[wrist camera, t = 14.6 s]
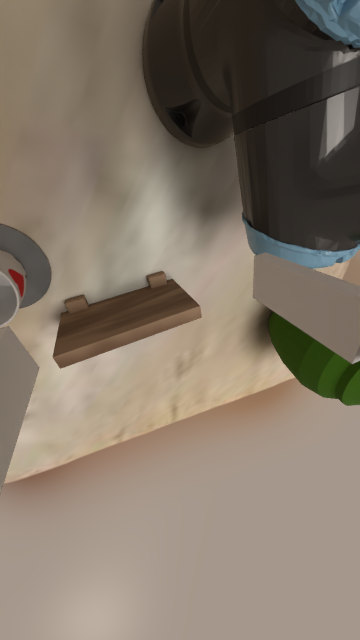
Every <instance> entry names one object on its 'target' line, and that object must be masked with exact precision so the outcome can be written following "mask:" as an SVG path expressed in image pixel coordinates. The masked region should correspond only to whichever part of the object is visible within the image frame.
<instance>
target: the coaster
mask: <svg viewBox="0 0 360 640" xmlns="http://www.w3.org/2000/svg"><path fill="white" fill-rule="evenodd" d="M0 250H1V251H4V252H7V253H10V254H12V255H13V256H15V257H16V258H17V259H18V260H19V261H20V262H21V263H22V265H23V267H24V270H25V272H26V276H27V282H26V291H25V295H24V298H23V300H22V302H21V305H20V307H19V308H23V307H27V306H29V305H32V304H34V303H35V302H37V301H38V300H40V299H41V298H42V297H43V296H44V294H45V293H46V292H47V290H48V288H49V285H50V282H51V268H50V264H49V261H48V259H47V257H46V255H45V254H44V252H43V251H42V249H41V248H40V247H39V246H38V245H37V244H36V243H35V242H34V241H33V240H32V239H31V238H29V237H28V236H26V235H25V234H24V233H22V232H20V231H18V230H16V229H14V228H11V227H9V226H6V225H3V224H0Z"/></svg>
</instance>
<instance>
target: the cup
mask: <svg viewBox="0 0 360 640" xmlns="http://www.w3.org/2000/svg"><path fill="white" fill-rule="evenodd" d="M26 282H27V276H26V272H25V270H24V267H23V265H22V263H21V262H20V261H19V260H18V259H17V258H16V257H15V256H13V255H12V254H10V253H7V252H4V251H1V250H0V327H2V326H4V325H6V324H7V323H9V322H10V321H11V320H12V319H13V318H14V317H15V315H16V314H17V311H18V309H19V307H20V305H21V302H22V300H23V298H24V295H25V291H26Z"/></svg>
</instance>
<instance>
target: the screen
mask: <svg viewBox="0 0 360 640" xmlns="http://www.w3.org/2000/svg"><path fill="white" fill-rule="evenodd" d="M147 278H148V282H149V286H148V287H145V288H142V289H139V290H135V291H132V292H129V293H126V294H122V295H119V296H116V297H113V298H109V299H106V300H103V301H100V302H97V303H93V304H90V305H88V302H87V300H86V298H85V296H84V295H81V296H78V297H74V298H71V299H68V300H65V306H66V308H67V310H68V311H67V312H64V313H61V318H60V323H59V328H58V333H57V338H56V343H55V348H54V353H53V359H54V360H55V361H56V363H57V364H58V366H59V367H60V369H61V368H63V367H66V366H69V365H72V364H75V363H77V362H80V361H83V360H86V359H88V358H91V357H94V356H97V355H99V354H102V353H105V352H108V351H110V350H113V349H116V348H119V347H121V346H124V345H127V344H130V343H132V342H135V341H138V340H141V339H144V338H146V337H149V336H152V335H155V334H157V333H160V332H163V331H166V330H168V329H171V328H174V327H177V326H179V325H182V324H185V323H188V322H190V321H193V320H196V319H199V318H202V317H201V309H200V305H199V304H198V303H197V302H196V301H195V300H194V299H193V298H192V297H190V296H189V295H188V294H187V293H186V292H185V291H184V290H183V289H182V288H181V287H180V286H179V285H178V284H177V283H176V282H175V281H174V280H173V279H171V280H168V281H167V280H166V275H165V273H164V272H163V271H162V272H158V273H155V274H151V275H148V276H147Z"/></svg>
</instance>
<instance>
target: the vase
mask: <svg viewBox="0 0 360 640" xmlns="http://www.w3.org/2000/svg"><path fill="white" fill-rule="evenodd" d="M269 333H270V337H271V340H272V344H273V345H274V347H275V349H276V351H277V353H278V354H279V356H280V358H281V360H282V361H283V363H284V364H285V365H286V367H287V368H288V369H289V370H290V371H291V372H292V374H293V375H294V376H295V377H296V378H297V379H298V380H299V382H300V383H301V384H302V385H304V386H305V387H307V388H308V389H310V390H312V391H313V392H315V393H317V394H319V395H320V396H322V397H326V398H334V399H339V400H340V401H341V402H342V403H343V404H345V405H348V406H349V405H360V361H358V362H356V363H354V364H351V363H350V362H348V361H347V360H345V359H344V358H342V357H341V356H339V355H338V354H336V353H335V352H333V351H332V350H330V349H329V348H327V347H326V346H325V345H323V344H322V343H320V342H319V341H317V340H316V339H314V338H313V337H311V336H310V335H308V334H307V333H305V332H304V331H302V330H301V329H299V328H298V327H296V326H295V325H293V324H292V323H290V322H289V321H287V320H286V319H284V318H283V317H281V316H280V315H278V314H277V313H275V312H274V311H273V312H272V314H271V316H270V318H269Z"/></svg>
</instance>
